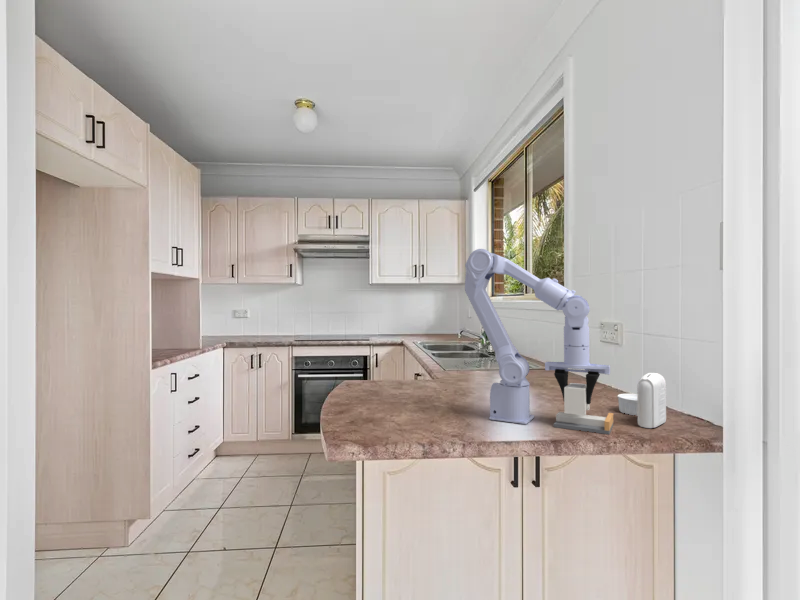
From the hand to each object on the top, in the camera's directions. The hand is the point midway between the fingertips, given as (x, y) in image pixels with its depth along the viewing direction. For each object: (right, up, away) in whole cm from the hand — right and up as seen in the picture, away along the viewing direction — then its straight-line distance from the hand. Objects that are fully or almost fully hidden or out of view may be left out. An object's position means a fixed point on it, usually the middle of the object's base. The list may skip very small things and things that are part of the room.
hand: (577, 402), depth 107 cm
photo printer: (+18, -6, +1) cm, 19 cm away
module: (0, -2, 0) cm, 2 cm away
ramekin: (+21, -6, +12) cm, 25 cm away
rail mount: (+1, -6, -1) cm, 6 cm away
